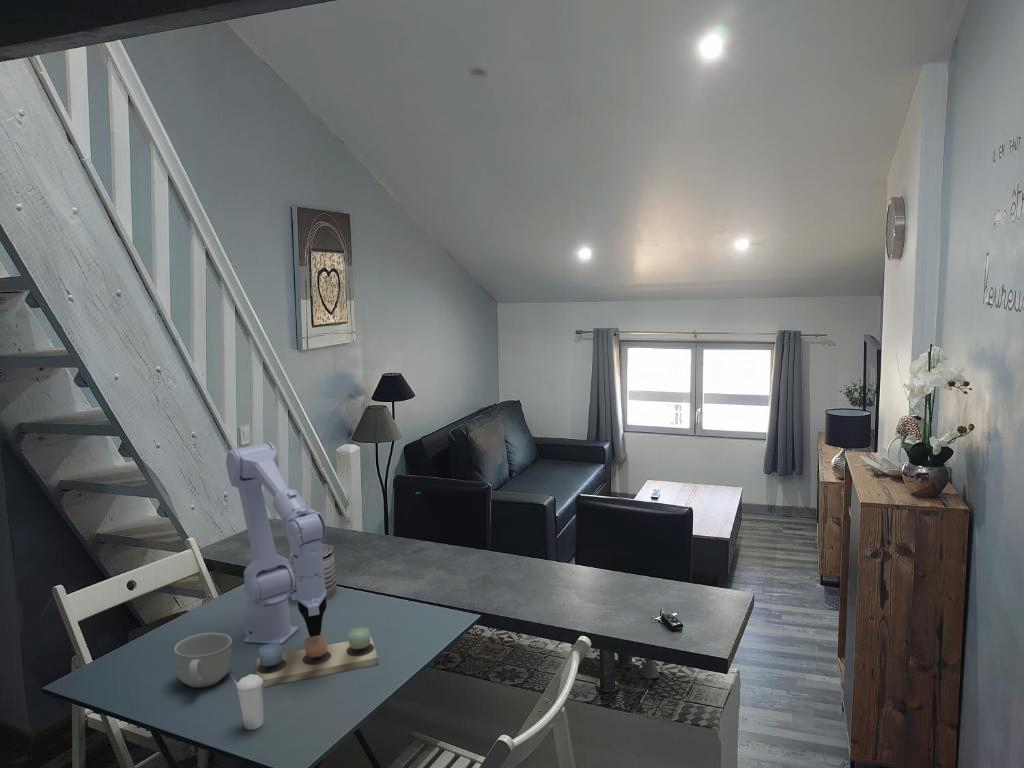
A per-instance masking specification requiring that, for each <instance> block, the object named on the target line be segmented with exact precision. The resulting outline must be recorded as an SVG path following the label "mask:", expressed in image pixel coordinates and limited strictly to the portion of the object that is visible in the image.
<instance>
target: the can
mask: <svg viewBox="0 0 1024 768" xmlns="http://www.w3.org/2000/svg"><path fill="white" fill-rule="evenodd" d="M321 544H322V556H323V567H324V580H325V589H326V591H327V595H326V596H325V597H326V602H327V601H330V600H333V598H334V597H335V596H336V594H337V593H338V591H337V590H338V589H337V588H338V587H337V578H336V577H337V576H336V565H335V564H336V563H335V554H334V553H335V552H334V551H333V549H334V545H330V544H326V543H321ZM287 559H288V561H289V564H290V567H291V569H292V571H293V573H294V576H295V567H294V556H293V554H292V553H291V552H290V553H289V555H288V557H287ZM295 593H297V589H296V578H295V586H294V589H293V591H291V595H292V594H295ZM292 601H293V602H294V603H295V604H297V605H298V602H299V601H298V600H292Z"/></svg>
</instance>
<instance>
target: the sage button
mask: <svg viewBox="0 0 1024 768" xmlns="http://www.w3.org/2000/svg"><path fill="white" fill-rule="evenodd" d="M370 637H371V633H370V628H368V627H364V626H359V627H354V628H352V629H350V630H349V631H348V641H349V646H350V647H351V648H353V649H361V648H365V647H367V646H368V645H369V644H370Z"/></svg>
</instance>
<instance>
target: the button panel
mask: <svg viewBox="0 0 1024 768" xmlns="http://www.w3.org/2000/svg"><path fill="white" fill-rule="evenodd" d="M378 665H379V657H378V653H377V651H376V648H375V643H374V641H373V637H372V636H370V644H369V645H368V646H367V647H365V648H361V649H353V648H351V647H350V646H349V640H347V641H341V642H338V643H336V642H335V643H331V644H327V652H326V653H325V654H324V655H322V656H319V657H308V656H306V654H305V648H303V649H299V650H294V651H288V652H282V661H281V662H279V663H278V664H275V665H272V666H263V665H261V664H260V657H257V658H256V669H255V670H256V671H255V673H256V674H255V675H259V676H260V677H261V678H262V679H263V688H265V687H271V686H275V685H281V684H285V683H291V682H297V681H302V680H306V679H310V678H316V677H323V676H327V675H332V674H336V673H340V672H341V673H342V672H346V671H347V672H348V671H352V670H357V669H363V668H368V667H371V666H373V667H374V666H378Z"/></svg>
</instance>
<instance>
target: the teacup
mask: <svg viewBox="0 0 1024 768" xmlns="http://www.w3.org/2000/svg"><path fill="white" fill-rule="evenodd" d="M232 640H233V639H232V638H231V636H230V635H228V634H226V633H221V632H204V633H203V632H202V633H198V634H195V635H191V636H188V637H186V638H183V639H181V640H180V641H179V642H177V643H176V644H175V645H174V647H173V651H174V658H175V659H174V661H175V662H174V663H175V669H176V670H175V671H176V676H177V678H178V680H180V682H182V683H184V684H186V685H187V686H189V687H191V688H206V687H210V686H213V685H215V684H217V683H219V682H220V681H221V680H222V679H223V678H224V677H225V676H226V675H227V674H228V673H229V671H230V669H231V666H232V657H233V656H232V652H233V651H232V644H233V641H232Z"/></svg>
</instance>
